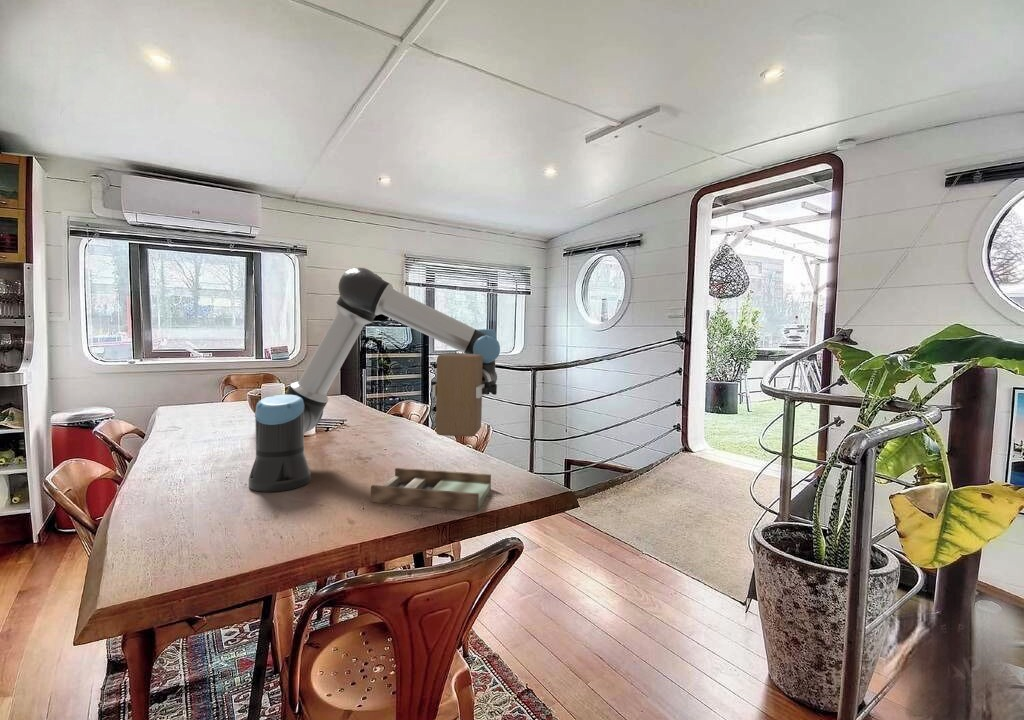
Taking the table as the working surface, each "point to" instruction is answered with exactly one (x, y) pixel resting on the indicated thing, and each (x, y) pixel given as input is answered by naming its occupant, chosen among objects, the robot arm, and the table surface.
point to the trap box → (434, 489)
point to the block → (458, 394)
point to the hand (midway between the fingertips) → (455, 391)
